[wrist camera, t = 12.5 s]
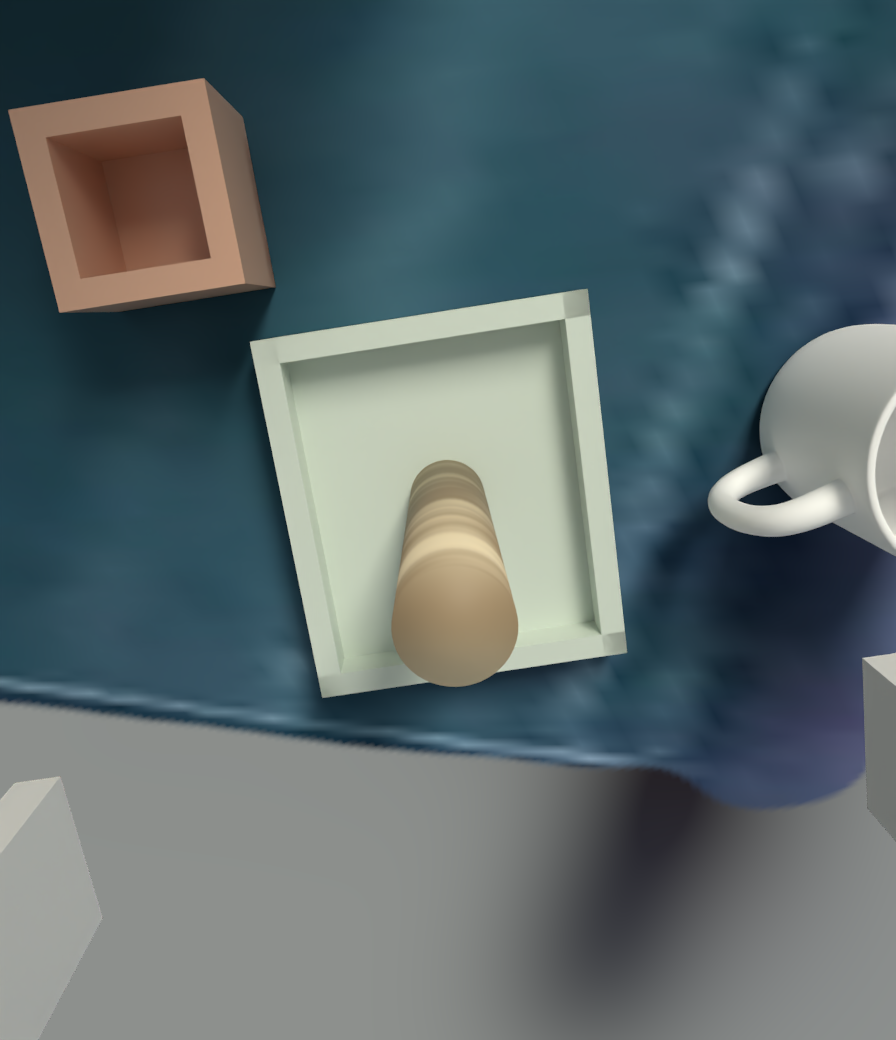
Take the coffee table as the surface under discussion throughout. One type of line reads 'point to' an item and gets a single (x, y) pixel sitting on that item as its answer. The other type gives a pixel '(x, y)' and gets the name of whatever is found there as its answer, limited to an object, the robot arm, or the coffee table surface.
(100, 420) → the coffee table surface
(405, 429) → the tray
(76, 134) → the holder
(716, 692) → the coffee table surface
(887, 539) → the cup
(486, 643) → the pin
